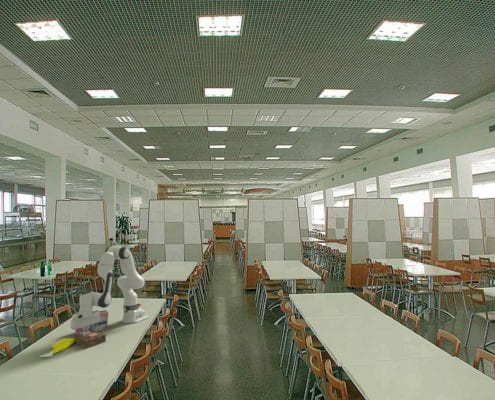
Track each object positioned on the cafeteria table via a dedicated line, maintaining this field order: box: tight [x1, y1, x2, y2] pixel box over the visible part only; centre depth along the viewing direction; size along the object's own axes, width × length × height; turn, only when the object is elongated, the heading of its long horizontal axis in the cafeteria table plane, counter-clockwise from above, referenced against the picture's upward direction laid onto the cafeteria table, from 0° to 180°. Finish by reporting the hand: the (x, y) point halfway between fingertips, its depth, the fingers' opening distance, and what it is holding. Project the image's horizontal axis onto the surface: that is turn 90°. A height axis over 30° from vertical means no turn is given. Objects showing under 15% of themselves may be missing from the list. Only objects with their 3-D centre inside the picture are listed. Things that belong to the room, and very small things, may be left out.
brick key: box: [87, 333, 98, 338], centre depth 221 cm, size 5×5×4 cm
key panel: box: [71, 329, 107, 349], centre depth 224 cm, size 14×20×5 cm
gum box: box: [74, 309, 109, 334], centre depth 247 cm, size 24×8×14 cm, turn 125°
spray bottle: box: [39, 337, 75, 358], centre depth 211 cm, size 3×11×24 cm
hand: (85, 332), depth 227 cm, fingers closed, pressing on white key
